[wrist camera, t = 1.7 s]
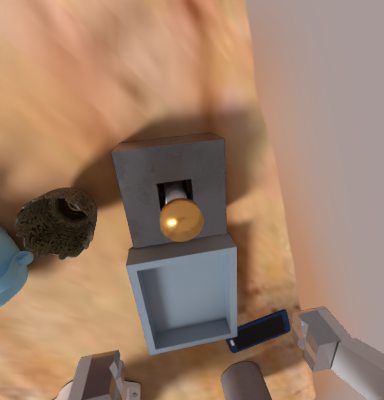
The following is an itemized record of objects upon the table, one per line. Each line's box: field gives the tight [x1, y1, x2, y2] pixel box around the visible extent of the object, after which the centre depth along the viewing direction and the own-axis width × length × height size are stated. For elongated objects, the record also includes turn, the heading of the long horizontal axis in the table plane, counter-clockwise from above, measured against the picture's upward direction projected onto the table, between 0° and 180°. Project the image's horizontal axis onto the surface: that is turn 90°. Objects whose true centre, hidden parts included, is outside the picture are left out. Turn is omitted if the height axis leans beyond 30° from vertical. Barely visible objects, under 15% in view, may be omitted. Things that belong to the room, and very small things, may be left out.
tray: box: [126, 233, 237, 355], centre depth 37 cm, size 20×16×4 cm
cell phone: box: [226, 310, 290, 353], centre depth 47 cm, size 7×14×1 cm, turn 109°
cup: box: [14, 188, 97, 260], centre depth 26 cm, size 8×7×8 cm
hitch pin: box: [160, 180, 204, 242], centre depth 26 cm, size 4×4×12 cm
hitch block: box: [111, 133, 227, 248], centre depth 28 cm, size 12×12×6 cm
